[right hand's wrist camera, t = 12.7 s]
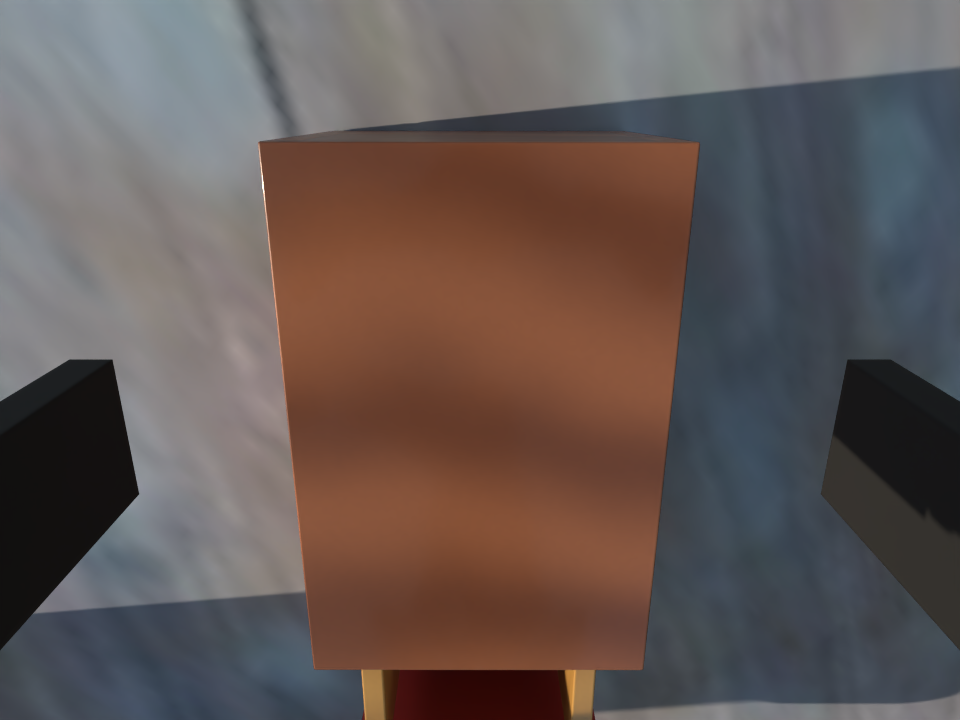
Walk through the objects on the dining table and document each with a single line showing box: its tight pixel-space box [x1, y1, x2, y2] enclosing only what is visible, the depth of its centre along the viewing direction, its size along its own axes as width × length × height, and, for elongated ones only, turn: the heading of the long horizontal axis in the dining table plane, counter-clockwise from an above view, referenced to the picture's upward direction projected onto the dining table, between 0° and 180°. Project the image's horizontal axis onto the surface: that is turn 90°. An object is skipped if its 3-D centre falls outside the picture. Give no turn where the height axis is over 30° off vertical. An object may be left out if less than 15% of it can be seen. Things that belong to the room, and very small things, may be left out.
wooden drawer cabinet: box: [258, 131, 700, 670], centre depth 24 cm, size 17×11×9 cm, turn 0°
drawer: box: [361, 670, 596, 720], centre depth 28 cm, size 22×10×8 cm, turn 0°
